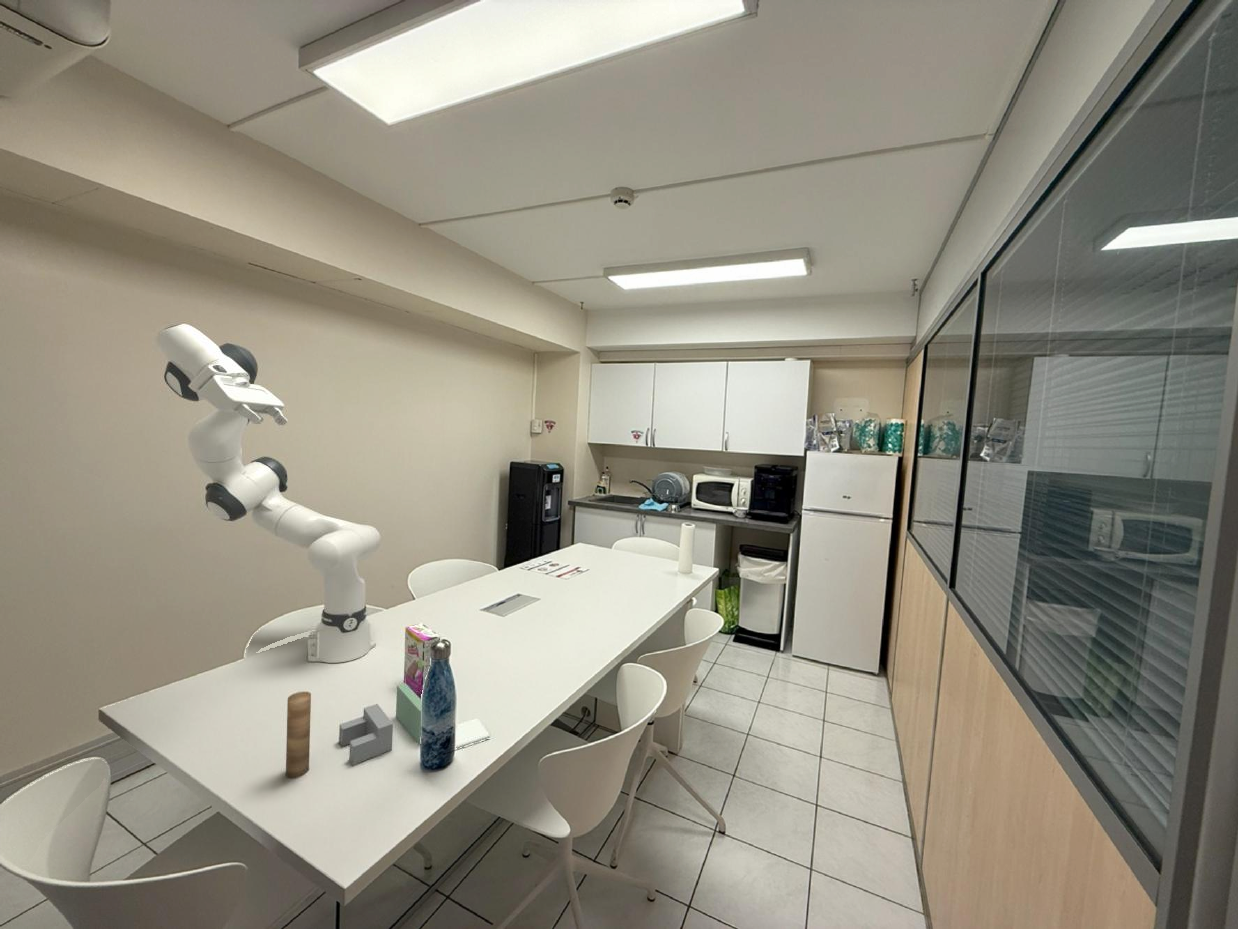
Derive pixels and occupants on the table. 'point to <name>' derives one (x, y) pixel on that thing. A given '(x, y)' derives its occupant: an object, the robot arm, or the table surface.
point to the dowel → (298, 734)
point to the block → (367, 734)
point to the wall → (409, 710)
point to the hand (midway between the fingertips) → (272, 422)
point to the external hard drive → (470, 733)
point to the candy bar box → (417, 655)
